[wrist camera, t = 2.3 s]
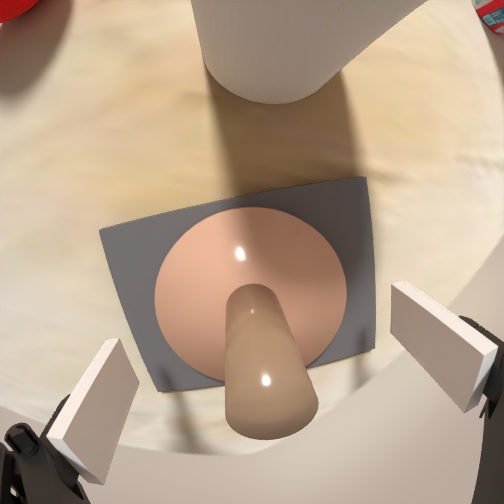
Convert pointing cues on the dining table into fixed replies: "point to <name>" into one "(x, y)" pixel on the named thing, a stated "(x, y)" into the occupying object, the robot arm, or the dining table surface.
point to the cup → (491, 14)
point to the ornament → (14, 8)
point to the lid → (253, 312)
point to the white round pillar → (288, 41)
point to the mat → (287, 199)
